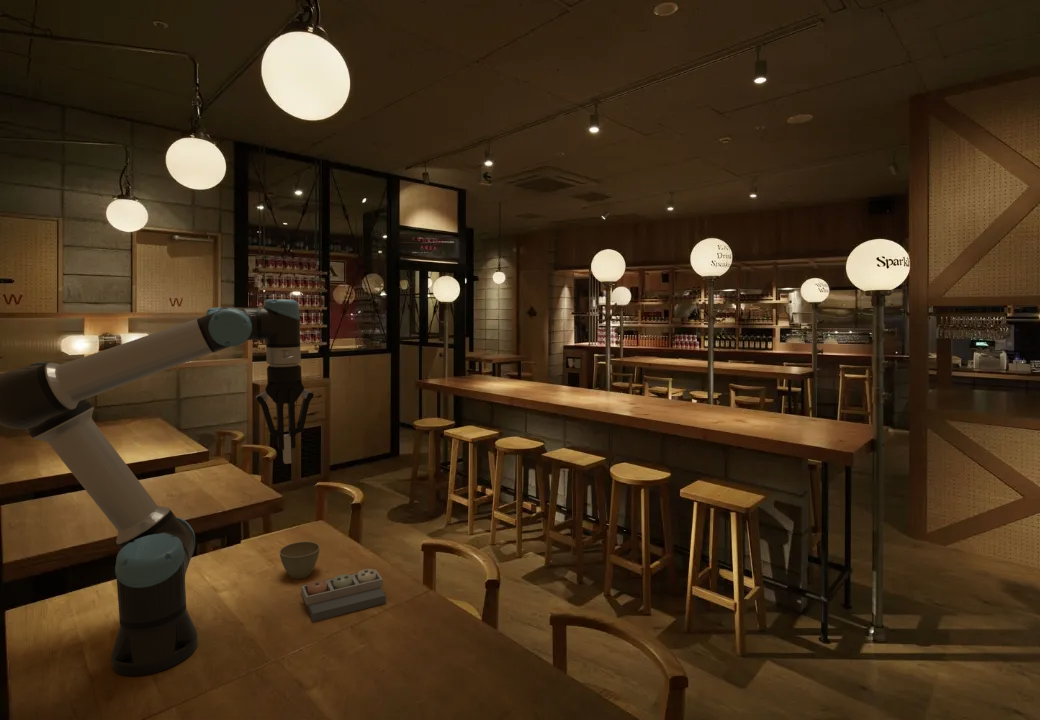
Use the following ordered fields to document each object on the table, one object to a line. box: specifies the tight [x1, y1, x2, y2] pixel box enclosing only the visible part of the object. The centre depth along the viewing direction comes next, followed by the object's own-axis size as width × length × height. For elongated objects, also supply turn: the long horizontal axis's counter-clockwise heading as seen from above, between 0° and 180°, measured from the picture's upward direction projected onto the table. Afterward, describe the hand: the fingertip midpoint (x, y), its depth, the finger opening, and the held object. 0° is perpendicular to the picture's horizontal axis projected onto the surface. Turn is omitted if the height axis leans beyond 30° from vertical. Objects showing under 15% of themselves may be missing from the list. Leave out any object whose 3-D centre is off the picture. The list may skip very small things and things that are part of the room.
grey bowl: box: [279, 541, 321, 580], centre depth 154 cm, size 10×10×7 cm
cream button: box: [357, 568, 376, 584], centre depth 145 cm, size 4×4×3 cm
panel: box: [300, 568, 387, 623], centre depth 143 cm, size 18×15×4 cm
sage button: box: [333, 573, 352, 590], centre depth 142 cm, size 4×4×3 cm
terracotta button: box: [307, 579, 327, 596], centre depth 139 cm, size 4×4×3 cm
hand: (287, 462), depth 139 cm, fingers closed
